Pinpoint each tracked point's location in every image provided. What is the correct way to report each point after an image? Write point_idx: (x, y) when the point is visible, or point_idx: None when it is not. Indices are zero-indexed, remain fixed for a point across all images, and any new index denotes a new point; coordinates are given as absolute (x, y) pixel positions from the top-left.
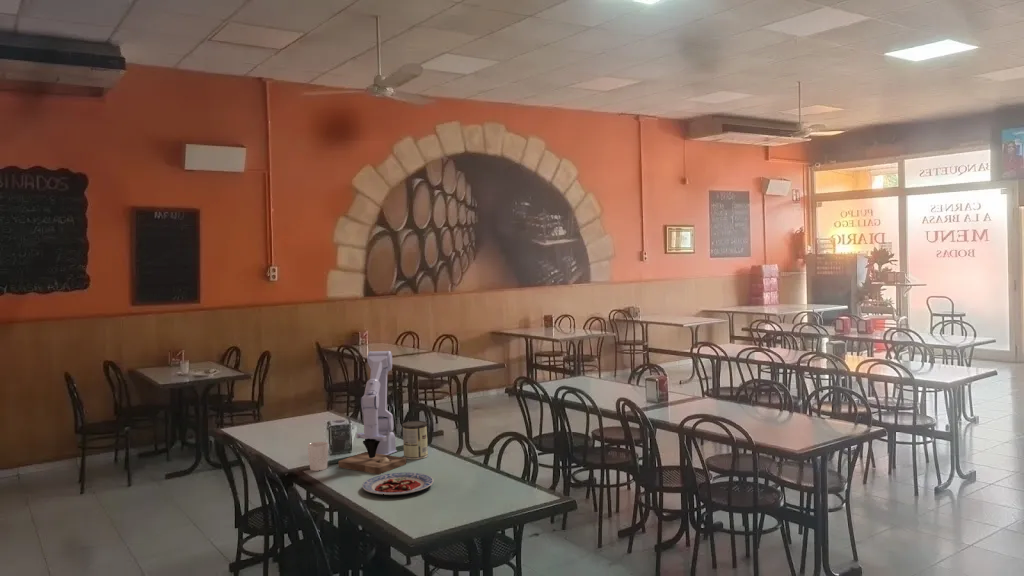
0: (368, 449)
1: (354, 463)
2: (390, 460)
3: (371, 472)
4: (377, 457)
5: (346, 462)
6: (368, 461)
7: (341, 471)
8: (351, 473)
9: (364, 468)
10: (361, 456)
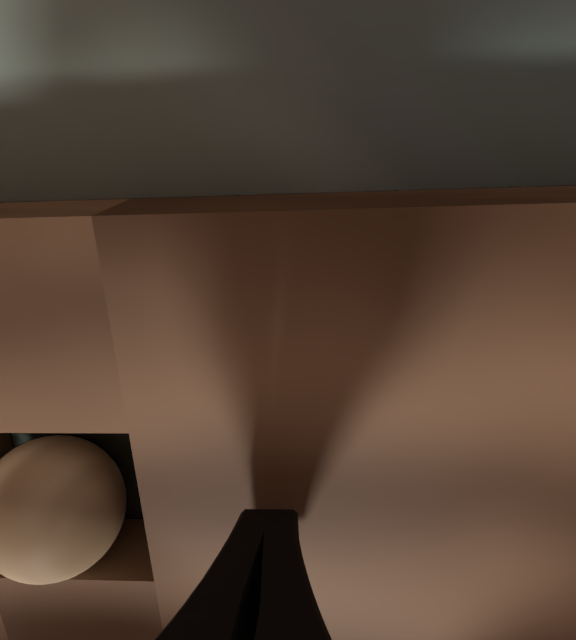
0: (260, 619)
1: (368, 224)
2: None
3: (5, 202)
4: None
5: (570, 204)
6: (239, 419)
7: (504, 10)
8: (251, 10)
9: (126, 205)
10: (547, 564)
